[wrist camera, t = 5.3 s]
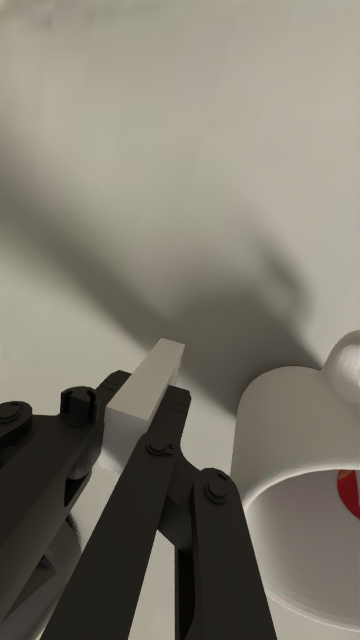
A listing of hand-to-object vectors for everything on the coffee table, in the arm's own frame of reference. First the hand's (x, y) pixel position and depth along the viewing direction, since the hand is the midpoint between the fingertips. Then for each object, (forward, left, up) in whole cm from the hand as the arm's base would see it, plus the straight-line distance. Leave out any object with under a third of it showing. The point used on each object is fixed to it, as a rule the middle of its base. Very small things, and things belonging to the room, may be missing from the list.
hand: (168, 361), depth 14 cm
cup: (+8, 0, -2) cm, 8 cm away
